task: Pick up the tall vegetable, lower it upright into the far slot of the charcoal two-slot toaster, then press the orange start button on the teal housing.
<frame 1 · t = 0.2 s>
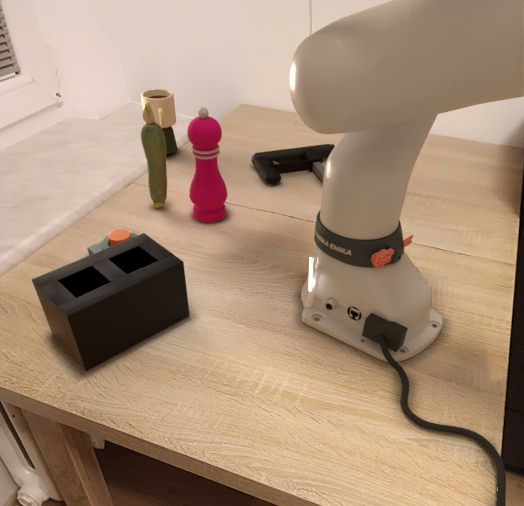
vegetable: (162, 206, 101), on the table
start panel: (125, 261, 86), on the table
start button: (120, 239, 83), point 4 cm above the table, slide at 0.1 cm
door handle: (301, 173, 112), on the table
character mug: (164, 153, 119), on the table
toaster: (122, 325, 75), on the table
pepper mill: (209, 215, 98), on the table
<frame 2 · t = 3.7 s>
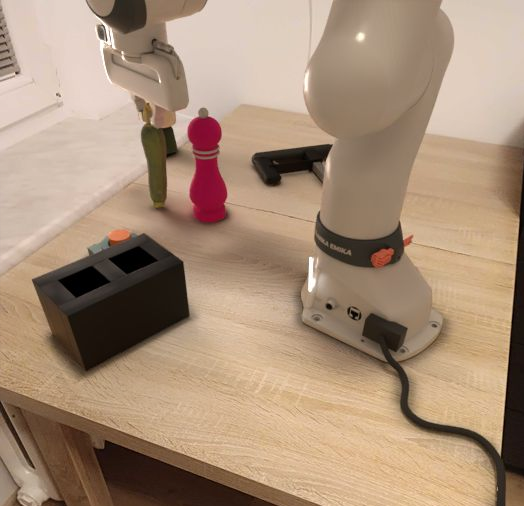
hand: (151, 123, 89), 16 cm above the table, tool pointing down, fingers closed on vegetable, 3 cm apart
vegetable: (162, 206, 101), on the table, touching gripper
everything else where it was.
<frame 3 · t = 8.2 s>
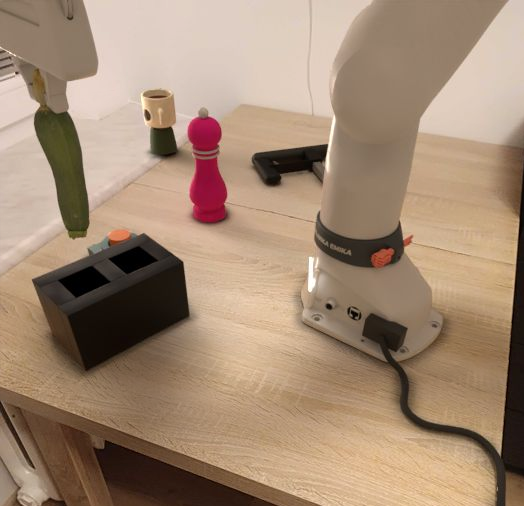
hand: (50, 105, 54), 31 cm above the table, tool pointing down, fingers closed on vegetable, 3 cm apart
vegetable: (85, 237, 65), point 15 cm above the table, touching gripper
everything else where it was.
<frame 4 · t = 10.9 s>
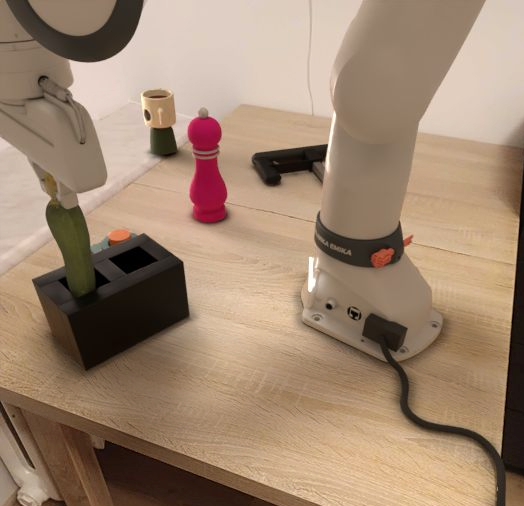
hand: (60, 198, 58), 22 cm above the table, tool pointing down, fingers closed on vegetable, 3 cm apart
vegetable: (91, 307, 69), point 5 cm above the table, touching gripper
everything else where it was.
when the fingers open (16 cm above the table, at t = 12.9 s): vegetable stays where it is, resting in toaster.
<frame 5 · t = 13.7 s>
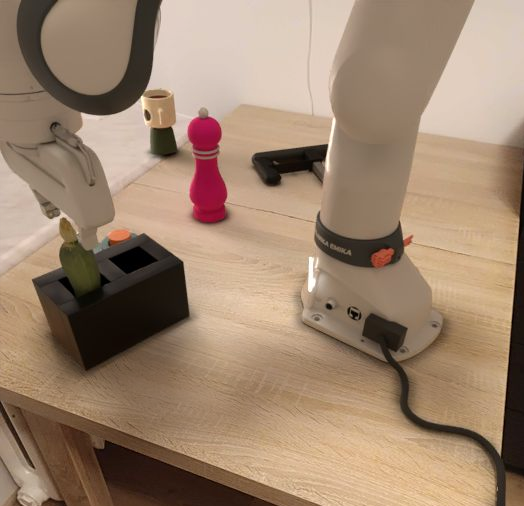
hand: (70, 230, 61), 18 cm above the table, tool pointing down, fingers open, 8 cm apart
vegetable: (100, 337, 73), resting in toaster
everything else where it was.
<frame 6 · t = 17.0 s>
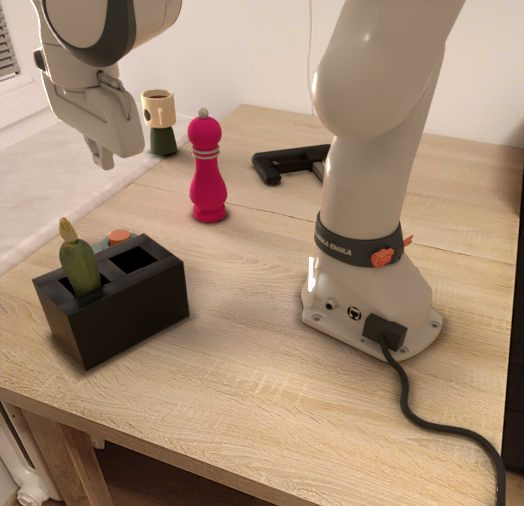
hand: (104, 166, 74), 17 cm above the table, tool pointing down, fingers closed
nothing on the table moved.
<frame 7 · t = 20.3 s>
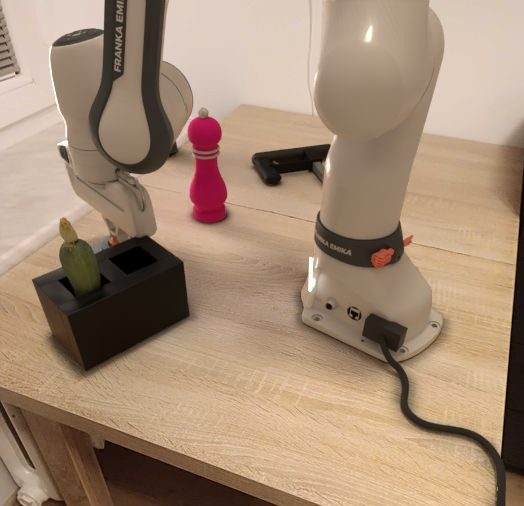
hand: (119, 239, 83), 4 cm above the table, tool pointing down, fingers closed, pressing on start button
start button: (121, 244, 84), point 4 cm above the table, slide at -0.9 cm, touching gripper
everything else where it was.
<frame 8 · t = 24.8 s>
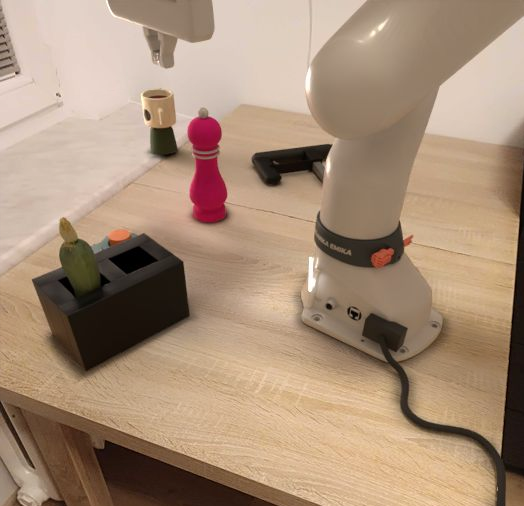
hand: (163, 65, 70), 29 cm above the table, tool pointing down, fingers closed
start button: (120, 239, 83), point 4 cm above the table, slide at 0.1 cm
everything else where it was.
at the end: vegetable 0.0 cm from the target spot in the toaster, point 0.0 cm above the toaster's base; start button pushed in 1.0 cm at the most during the clip, back to where it started at the end; start button slide at 0.1 cm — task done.
